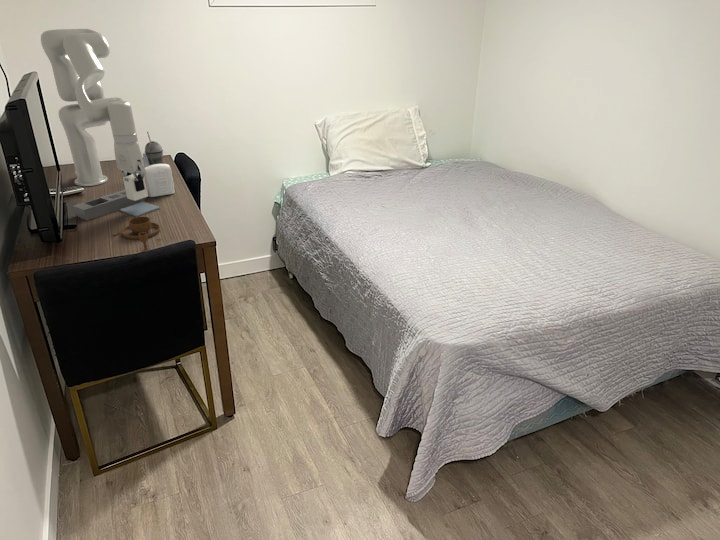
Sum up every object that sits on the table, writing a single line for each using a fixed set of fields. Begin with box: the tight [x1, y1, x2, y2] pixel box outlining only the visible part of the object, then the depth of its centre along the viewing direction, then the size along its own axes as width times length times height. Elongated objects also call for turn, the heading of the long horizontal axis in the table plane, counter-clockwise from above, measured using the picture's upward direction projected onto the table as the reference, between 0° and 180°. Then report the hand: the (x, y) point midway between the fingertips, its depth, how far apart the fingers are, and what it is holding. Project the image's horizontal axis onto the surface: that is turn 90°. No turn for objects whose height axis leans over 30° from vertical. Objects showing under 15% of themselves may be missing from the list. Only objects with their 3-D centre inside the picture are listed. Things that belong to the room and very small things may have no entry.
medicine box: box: [142, 151, 149, 168], centre depth 232 cm, size 8×4×9 cm, turn 179°
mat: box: [119, 201, 161, 218], centre depth 191 cm, size 10×10×1 cm
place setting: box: [112, 216, 163, 251], centre depth 169 cm, size 18×20×6 cm
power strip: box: [72, 189, 146, 221], centre depth 191 cm, size 7×24×4 cm, turn 146°
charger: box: [122, 173, 149, 201], centre depth 186 cm, size 4×6×8 cm
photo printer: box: [144, 163, 176, 198], centre depth 202 cm, size 10×4×12 cm, turn 123°
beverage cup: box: [144, 131, 164, 166], centre depth 219 cm, size 7×7×20 cm
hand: (136, 188), depth 187 cm, fingers closed on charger, 4 cm apart
